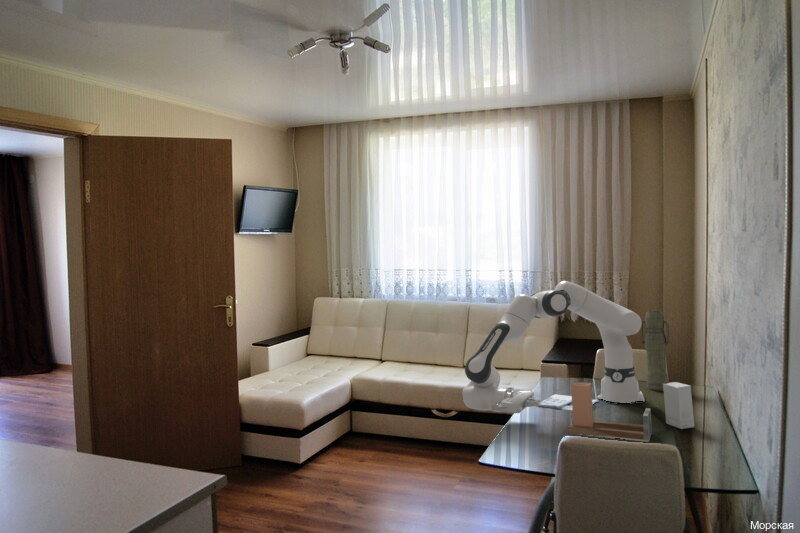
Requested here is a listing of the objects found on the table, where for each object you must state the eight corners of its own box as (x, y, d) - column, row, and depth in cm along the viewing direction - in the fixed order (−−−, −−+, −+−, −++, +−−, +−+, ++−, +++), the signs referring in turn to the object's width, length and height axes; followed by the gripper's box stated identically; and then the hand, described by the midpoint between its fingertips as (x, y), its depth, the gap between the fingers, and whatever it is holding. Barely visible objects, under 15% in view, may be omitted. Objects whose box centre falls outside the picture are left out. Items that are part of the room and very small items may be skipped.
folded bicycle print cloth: (555, 397, 263) (555, 392, 263) (600, 403, 250) (600, 397, 250) (536, 407, 248) (535, 402, 248) (582, 414, 235) (582, 408, 235)
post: (576, 425, 216) (574, 382, 215) (593, 427, 213) (591, 383, 212) (573, 429, 211) (571, 385, 211) (590, 431, 208) (588, 386, 208)
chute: (573, 426, 219) (572, 402, 218) (651, 433, 206) (650, 408, 206) (567, 434, 210) (566, 409, 210) (648, 441, 197) (647, 416, 197)
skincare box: (694, 427, 209) (693, 385, 209) (679, 429, 208) (678, 387, 208) (678, 421, 217) (676, 380, 217) (664, 423, 216) (662, 382, 216)
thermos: (671, 391, 260) (668, 311, 259) (642, 389, 265) (639, 311, 265) (672, 386, 268) (669, 309, 267) (644, 385, 273) (640, 309, 272)
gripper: (493, 398, 216) (531, 401, 210) (511, 386, 234) (546, 388, 228) (494, 415, 216) (532, 419, 210) (511, 402, 234) (546, 405, 228)
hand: (539, 403), depth 219 cm, fingers closed
